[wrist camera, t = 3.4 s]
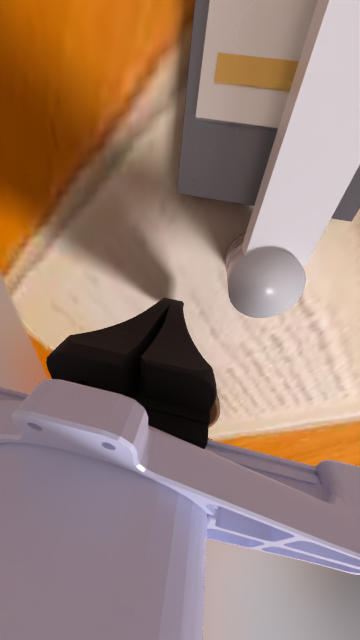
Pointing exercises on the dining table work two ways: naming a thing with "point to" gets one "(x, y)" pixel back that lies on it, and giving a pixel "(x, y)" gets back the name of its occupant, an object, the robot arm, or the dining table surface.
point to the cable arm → (303, 166)
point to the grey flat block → (242, 98)
